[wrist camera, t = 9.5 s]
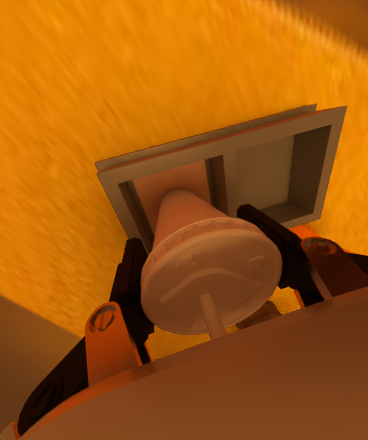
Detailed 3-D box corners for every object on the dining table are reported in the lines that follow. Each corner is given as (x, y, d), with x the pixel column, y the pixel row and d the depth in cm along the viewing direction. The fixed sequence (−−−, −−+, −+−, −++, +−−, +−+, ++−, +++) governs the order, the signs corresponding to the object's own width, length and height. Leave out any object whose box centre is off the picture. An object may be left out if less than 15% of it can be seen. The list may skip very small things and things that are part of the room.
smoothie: (143, 172, 13) (49, 671, 1) (215, 174, 14) (598, 379, 2) (146, 236, 16) (135, 562, 4) (206, 234, 17) (345, 467, 5)
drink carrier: (294, 204, 21) (327, 220, 17) (140, 251, 20) (138, 280, 16) (307, 105, 15) (361, 94, 11) (97, 161, 14) (77, 170, 10)
